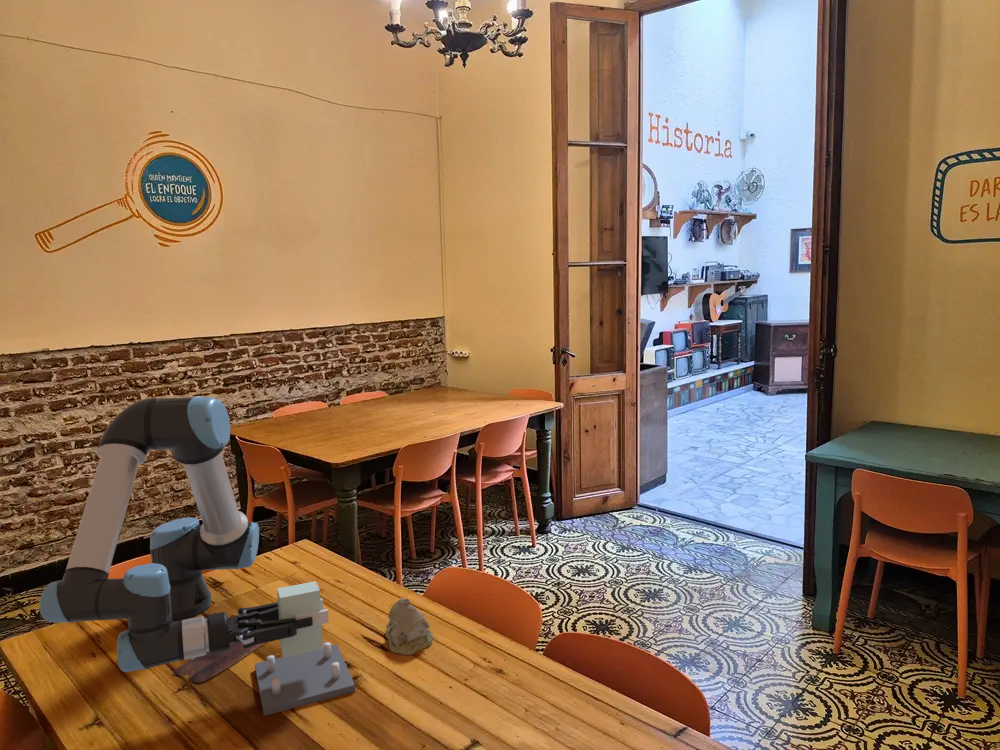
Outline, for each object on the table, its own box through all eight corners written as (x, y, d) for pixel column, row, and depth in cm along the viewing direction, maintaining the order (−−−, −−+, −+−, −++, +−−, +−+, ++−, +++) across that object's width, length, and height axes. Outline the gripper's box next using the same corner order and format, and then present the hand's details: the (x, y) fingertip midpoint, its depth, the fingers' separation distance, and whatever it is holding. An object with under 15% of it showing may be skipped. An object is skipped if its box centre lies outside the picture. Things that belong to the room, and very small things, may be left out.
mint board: (280, 646, 142) (276, 588, 141) (318, 638, 146) (315, 581, 144) (283, 658, 138) (280, 598, 136) (322, 648, 141) (319, 590, 140)
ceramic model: (442, 645, 157) (441, 604, 156) (398, 660, 151) (397, 618, 149) (415, 620, 168) (414, 583, 167) (373, 634, 162) (372, 594, 161)
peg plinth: (255, 669, 147) (253, 650, 147) (337, 650, 155) (336, 631, 154) (264, 716, 131) (262, 694, 131) (355, 691, 139) (354, 671, 138)
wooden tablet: (261, 616, 170) (290, 620, 165) (262, 625, 170) (292, 629, 165) (168, 670, 146) (200, 676, 142) (170, 680, 146) (201, 686, 142)
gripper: (206, 632, 142) (318, 609, 152) (209, 675, 126) (334, 646, 135) (204, 598, 141) (316, 577, 151) (207, 637, 125) (333, 611, 135)
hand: (325, 610), depth 143 cm, fingers closed on mint board, 5 cm apart
